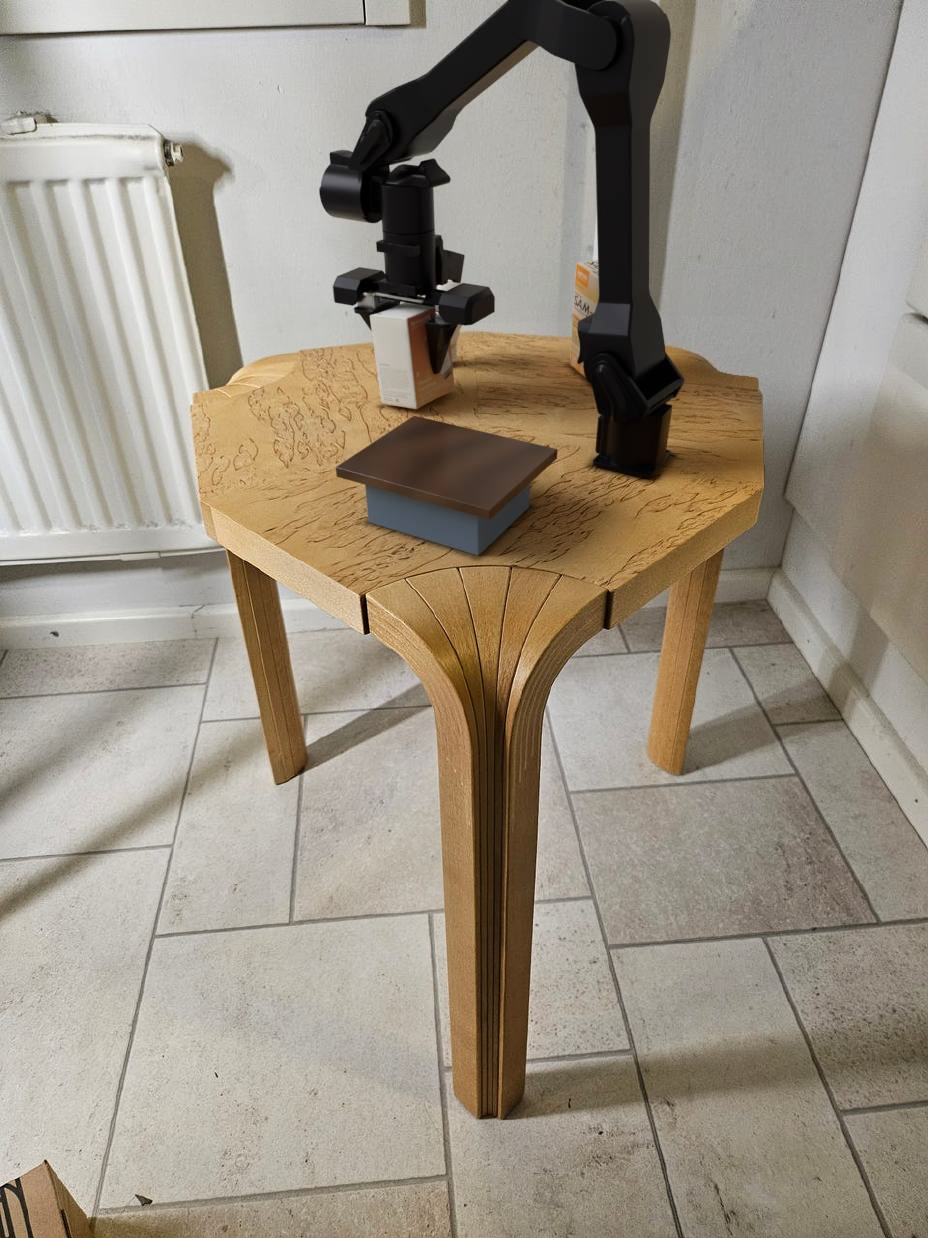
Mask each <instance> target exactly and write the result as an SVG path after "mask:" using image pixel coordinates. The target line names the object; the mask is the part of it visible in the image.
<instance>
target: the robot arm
mask: <svg viewBox="0 0 928 1238" xmlns="http://www.w3.org/2000/svg"><path fill="white" fill-rule="evenodd" d="M671 30H672V29H671V23H670V20H669V17H668V14H667V13H666V12H664V11H663V9H662V8H661V6H659V5H658V3H657V2H655V1H653V0H506V1H505V2H504V3H503V4H502V5H500V6H499V8H497V9H496V10H495V11H494V12H493V13H492V14H491V15H490V16H489V17H487V18H486V19H485V20H484V21H482V23H481V24H479V25H478V27H476V28H475V29H474V30H473V31H472V32H470V34H468V35H467V36H466V37H465V38H464V39H463V40H462V41H461V42H459V43H458V44H457V45H456V46H455V47H454V48H453V49H452V50H451V51H449V52H448V53H447V54H446V55H445V56H444V57H443V58H442V59H441V60H439V61H438V62H437V63H436V64H435V65H433V67H431V68H430V69H429V70H428V71H427V72H426V73H425V74H423V75H421V76H418V77H417V78H415V79H412V80H410V81H408V82H405V83H403V84H400V85H398V86H395V87H393V88H391V89H390V90H388V91H386V92H384V93H382V94H381V95H379V96H378V97H376V98H374V99H372V100H371V101H370V103H369V104H368V105H367V106H366V110H365V111H364V117H365V123H364V126H363V128H362V130H361V133H360V135H359V137H358V139H357V142H356V144H355V146H354V149H353V151H351V150H347V149H339V150H334V151H330V152H329V155H328V156H329V164H328V165H327V167H326V168H325V170H324V172H323V174H322V177H321V181H320V187H319V189H318V193H319V199H320V202H321V205H322V208H323V209H324V211H325V212H326V214H328V215H329V216H331V217H332V218H337V219H342V220H348V221H356V222H361V223H362V222H363V223H366V224H367V223H368V224H378V223H379V222H381V231H382V239H380V240H377V241H375V247H376V253H382V254H383V259H384V271H383V270H382V269H375V268H368V267H362V266H358V267H356V268H354V269H351V270H349V271H345V272H344V273H342V274H338V275H337V276H336V277H335V279H334V281H333V284H332V295H333V302H334V303H335V304H340V305H345V306H351V307H352V306H355V305H356V306H355V307H353V312H354V314H358V315H359V316H360V317H361V319H362V321H364V323H365V324H366V326H367V327H368V328H369V330H370V332H371V333H372V330H371V322H370V315H373V314H377V313H380V312H382V311H385V310H388V309H390V308H393V307H395V306H398V305H400V304H401V303H405V302H406V303H412V304H418V305H424V306H430V307H435V317H433V318H431V319H429V320H427V321H426V322H425V327H426V334H427V341H428V348H429V355H430V362H431V366H432V370H433V373H434V374H438V373H440V372H441V369H442V366H443V363H444V360H445V357H446V354H447V351H448V348H449V344H450V341H451V339H452V336H453V334H454V332H455V330H456V328H457V326H458V325H462V326H464V327H465V326H473V325H475V324H476V323H478V322H480V321H482V320H483V319H485V318H486V317H489V316H490V315H492V314H494V313H495V310H496V309H495V308H496V297H495V295H494V292H493V291H492V289H491V288H490V286H487V285H480V284H473V283H468V282H467V283H466V282H462V277H463V270H464V265H465V257H466V256H465V254H464V253H459V252H457V251H453V250H448V249H444V240H443V237H442V234H436V227H435V226H436V224H435V223H436V222H435V195H434V193H435V192H434V188H437V187H440V186H443V185H448V184H450V183H451V182H452V181H451V180H452V179H451V176H450V175H449V174H448V173H447V171H445V169H443V168H442V167H441V166H440V165H439V164H438V162H437V159H436V158H434V157H433V158H432V157H431V158H428V159H424V160H421V161H420V162H419V164H418V165H416V164H409V163H408V164H406V163H405V162H409V161H411V160H412V159H414V158H417V157H421V156H423V155H428V154H430V153H433V152H434V151H435V150H436V149H437V147H439V145H440V144H441V143H442V142H443V140H445V138H446V137H447V136H448V135H449V134H450V132H451V131H452V130H453V127H454V125H455V122H456V120H457V117H458V116H459V114H460V113H461V112H462V110H463V109H464V108H465V107H466V106H468V105H469V104H470V103H471V102H473V101H474V100H475V99H477V98H478V97H479V96H480V95H481V94H482V93H484V92H485V91H486V90H488V88H490V87H492V85H493V84H494V83H496V82H497V81H499V80H500V79H501V78H502V77H503V76H504V75H506V74H508V73H509V71H511V70H512V69H513V68H515V66H517V65H519V63H520V62H522V61H523V60H524V59H526V57H528V56H529V55H530V54H532V53H533V52H534V51H535V50H536V49H538V48H541V49H543V50H544V51H546V52H548V53H549V54H550V55H552V56H554V57H557V58H559V59H562V60H564V61H567V62H570V63H573V66H574V72H575V77H576V83H577V84H576V85H577V90H578V94H579V96H580V99H581V102H582V104H583V106H584V109H585V111H586V113H587V115H588V117H589V120H590V122H591V124H592V128H593V131H594V148H595V149H594V152H595V153H594V155H595V159H594V160H595V190H596V191H595V194H596V195H595V196H596V198H595V199H596V235H597V237H596V238H597V239H596V241H597V260H598V282H599V298H598V303H597V306H596V309H595V312H594V313H593V314H591V315H589V316H587V317H585V318H583V319H582V320H580V321H579V322H578V330H577V331H578V337H579V342H580V354H579V357H578V360H577V363H578V364H580V363H582V362H583V370H584V375H585V377H584V378H585V380H586V382H587V383H588V384H590V386H591V389H592V394H593V398H594V402H595V406H596V410H597V413H598V415H599V416H598V417H597V425H596V437H595V450H594V451H595V453H596V454H597V455H596V456H595V457H594V458H593V459H592V465H593V466H594V467H597V468H602V469H606V470H609V471H614V472H617V473H618V472H619V473H623V474H627V475H631V476H636V477H640V478H643V479H651V478H653V476H655V474H656V473H657V472H658V471H659V470H660V469H661V467H663V465H664V464H665V463H666V462H667V461H668V459H669V458H670V457H671V455H672V450H670V449H668V440H669V434H670V427H671V418H672V412H673V404H669V403H668V402H670V401H672V399H675V398H677V397H678V395H679V393H680V392H681V390H682V388H683V386H684V384H685V378H684V376H683V375H682V374H681V372H680V370H679V369H678V367H677V366H676V365H675V363H674V362H673V360H672V358H671V357H670V356H669V354H668V353H667V351H666V344H665V337H664V336H665V335H664V329H663V321H662V318H661V315H660V313H659V311H658V309H657V306H656V304H655V302H654V299H653V297H652V296H651V292H650V291H651V290H650V207H651V205H650V199H651V198H650V197H651V196H650V195H651V193H650V189H651V187H650V185H651V184H650V183H651V179H650V178H651V124H652V118H653V115H654V113H655V110H656V107H657V104H658V101H659V98H660V95H661V92H662V90H663V88H664V87H663V86H664V84H665V79H666V73H667V68H668V67H667V66H668V59H669V54H670V46H671V39H672V31H671ZM396 164H399V165H397V166H396V167H394V168H393V170H391V168H390V166H393V165H396ZM448 280H452V282H455V283H461V284H460V285H458V286H456V287H454V288H452V289H450V290H448V291H445V290H439V289H437V286H438V285H445V284H447V283H448ZM422 296H425V297H422Z"/></svg>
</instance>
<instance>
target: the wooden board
mask: <svg viewBox="0 0 928 1238" xmlns="http://www.w3.org/2000/svg"><path fill="white" fill-rule="evenodd" d="M558 451H559V450H558V449H557V448H555V447H550V446H546V445H541V444H536V443H533V442H528V441H524V440H520V439H515V438H512V437H507V436H502V435H499V434H495V433H490V432H486V431H482V430H478V429H473V428H470V427H469V428H468V427H464V426H462V425H461V426H460V425H456V424H452V423H447V422H444V421H438V420H434V419H431V418H426V417H421V416H418V415H412V416H411V417H410V418H408V419H406V420H405V421H403V422H402V423H400V424H399V425H397V426H396V427H394V428H393V429H391V430H389V431H387V433H385V434H383V435H382V436H381V437H379V438H378V439H376V440H374V441H373V442H371V443H370V444H369V445H367V446H365V447H364V448H362V449H360V450H359V451H358V452H355V454H353V455H352V456H350V457H349V458H347V459H346V460H344V461H343V462H341V463H340V464H338V465H337V466H335V472H336V473H335V474H336V477H337V478H340V479H344V480H347V481H350V482H354V483H358V484H362V485H364V486H365V485H368V486H372V487H375V488H379V489H382V490H386V491H389V492H393V493H397V494H400V495H404V496H407V497H411V498H414V499H418V500H421V501H425V502H428V503H432V504H436V505H439V506H443V507H446V508H450V509H453V510H457V511H460V512H464V513H468V514H471V515H475V516H478V517H482V518H485V519H489V520H490V519H491V518H493V517H494V516H495V515H496V514H497V513H498V512H499V511H500V510H501V509H502V508H503V507H505V506H506V505H507V504H508V503H509V502H510V501H511V500H512V499H513V498H514V497H515V496H517V495H518V494H519V493H520V492H521V491H522V490H523V489H524V488H525V487H526V486H527V485H529V484H530V485H531V483H532V482H533V481H534V480H535V479H537V478H538V477H539V476H540V475H541V474H542V473H543V472H544V471H545V470H546V469H547V468H548V467H550V466H551V465H552V464H553V463H554V462H555V461H556V460H557V459H558Z"/></svg>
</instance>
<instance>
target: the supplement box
mask: <svg viewBox="0 0 928 1238" xmlns="http://www.w3.org/2000/svg"><path fill="white" fill-rule="evenodd" d="M574 275H575V276H574V277H575V279H574V289H573V290H574V291H573V304H572V305H573V306H572V320H571V321H572V322H571V334H570V336H571V337H570V349H569V350H570V352H569V366H571V367H572V368H573V369H574V370H576V371H577V372H578V373H579V374H580V375H582V376H583V378H585V375H584V370H583V362H582V363H580V364H578V363H577V360H578V357H579V354H580V342H579V337H578V331H577V330H578V322H579V321H580V320H582V319H583V318H585V317H587V316H589V315H591V314H593V313H594V312H595V309H596V306H597V303H598V298H599V282H598V259H597V260H586V261H579V262H576V263H575V274H574Z"/></svg>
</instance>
